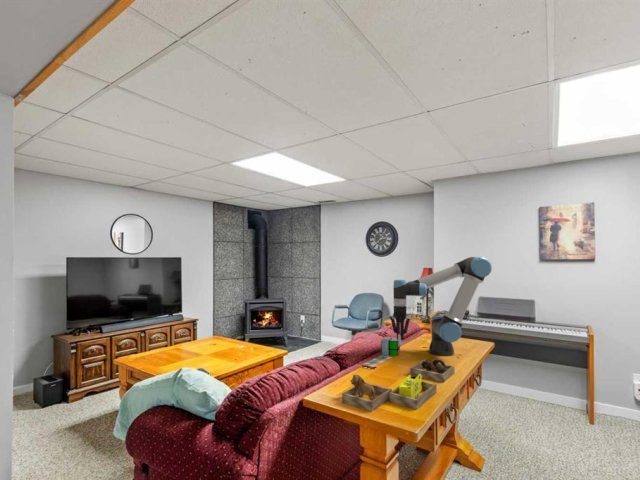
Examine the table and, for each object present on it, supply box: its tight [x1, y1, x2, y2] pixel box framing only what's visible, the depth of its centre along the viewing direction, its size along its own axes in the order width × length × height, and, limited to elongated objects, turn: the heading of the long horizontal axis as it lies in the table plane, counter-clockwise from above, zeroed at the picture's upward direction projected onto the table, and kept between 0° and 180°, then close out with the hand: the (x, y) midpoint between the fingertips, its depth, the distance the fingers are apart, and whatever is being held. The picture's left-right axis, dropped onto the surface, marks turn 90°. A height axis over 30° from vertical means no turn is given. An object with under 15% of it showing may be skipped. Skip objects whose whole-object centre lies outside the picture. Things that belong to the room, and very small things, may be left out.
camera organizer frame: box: [388, 380, 437, 410], centre depth 146 cm, size 12×22×4 cm, turn 142°
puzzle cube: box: [380, 336, 401, 357], centre depth 209 cm, size 10×10×10 cm
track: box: [361, 355, 393, 370], centre depth 193 cm, size 7×23×2 cm, turn 142°
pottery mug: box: [422, 358, 447, 374], centre depth 176 cm, size 12×10×8 cm
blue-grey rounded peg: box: [381, 337, 390, 358], centre depth 201 cm, size 4×4×11 cm
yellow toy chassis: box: [398, 374, 423, 399], centre depth 147 cm, size 16×6×8 cm, turn 148°
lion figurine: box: [349, 373, 376, 401], centre depth 143 cm, size 15×5×9 cm, turn 44°
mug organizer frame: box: [409, 360, 456, 383], centre depth 175 cm, size 17×17×4 cm
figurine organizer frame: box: [341, 382, 393, 412], centre depth 143 cm, size 14×17×4 cm
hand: (400, 345), depth 204 cm, fingers closed
